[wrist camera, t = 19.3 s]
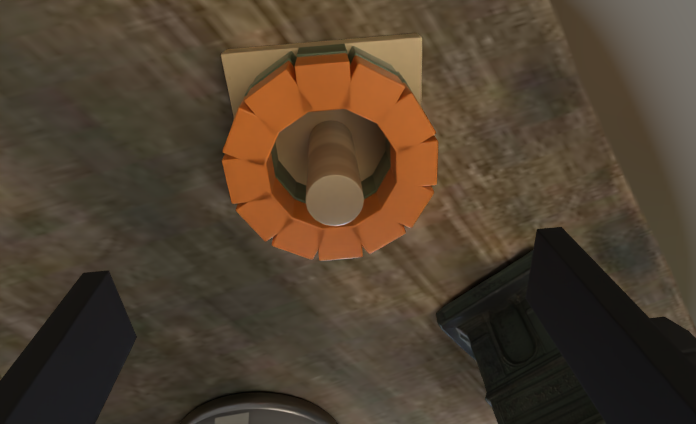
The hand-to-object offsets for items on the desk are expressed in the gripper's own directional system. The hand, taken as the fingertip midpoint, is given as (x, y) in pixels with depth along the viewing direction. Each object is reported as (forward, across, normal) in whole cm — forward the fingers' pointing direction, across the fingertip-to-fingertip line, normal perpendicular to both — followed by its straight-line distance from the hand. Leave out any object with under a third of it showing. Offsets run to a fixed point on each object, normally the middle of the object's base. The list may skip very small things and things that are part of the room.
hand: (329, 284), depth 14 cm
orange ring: (+10, 0, 0) cm, 10 cm away
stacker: (+13, 0, 0) cm, 13 cm away
